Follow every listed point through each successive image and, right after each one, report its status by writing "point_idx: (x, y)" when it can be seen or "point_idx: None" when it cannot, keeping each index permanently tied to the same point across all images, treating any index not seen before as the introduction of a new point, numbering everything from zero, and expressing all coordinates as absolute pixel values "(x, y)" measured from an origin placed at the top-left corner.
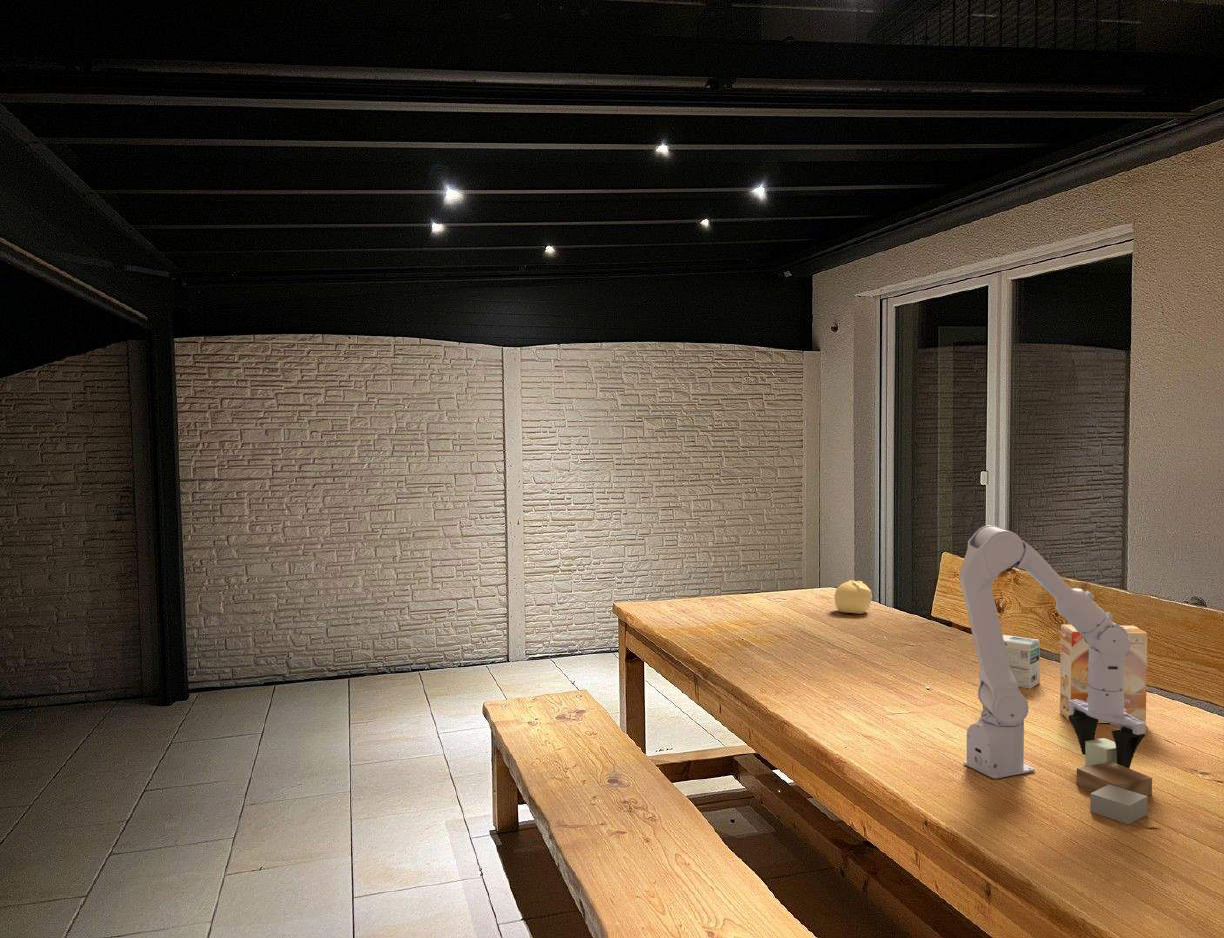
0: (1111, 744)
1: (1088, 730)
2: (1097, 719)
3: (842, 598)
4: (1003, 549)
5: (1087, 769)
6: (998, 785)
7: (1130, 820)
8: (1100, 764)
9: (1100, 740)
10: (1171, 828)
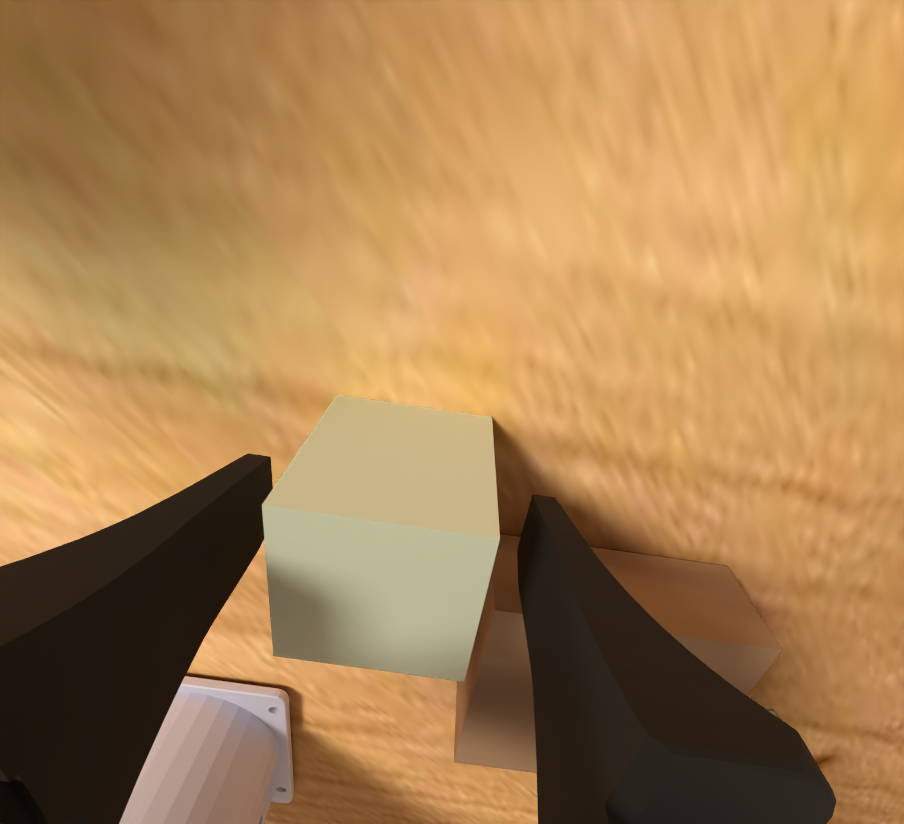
0: (411, 586)
1: (160, 628)
2: (43, 645)
3: None
4: None
5: (492, 748)
6: (334, 803)
7: None
8: (489, 676)
9: (301, 573)
10: (875, 736)
